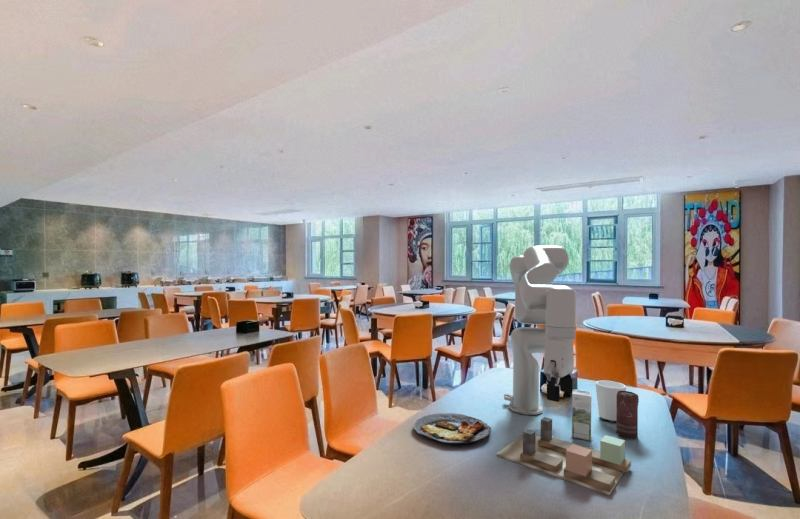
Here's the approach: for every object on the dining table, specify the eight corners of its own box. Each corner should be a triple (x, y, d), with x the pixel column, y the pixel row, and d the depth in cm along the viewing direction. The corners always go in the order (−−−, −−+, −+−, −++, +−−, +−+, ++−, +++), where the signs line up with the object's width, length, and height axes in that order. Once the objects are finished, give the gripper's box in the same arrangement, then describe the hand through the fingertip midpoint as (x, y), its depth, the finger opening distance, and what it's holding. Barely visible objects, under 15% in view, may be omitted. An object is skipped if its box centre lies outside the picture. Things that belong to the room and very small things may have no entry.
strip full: (538, 445, 122) (538, 420, 122) (544, 439, 126) (544, 415, 126) (626, 472, 106) (626, 444, 106) (631, 465, 110) (631, 438, 110)
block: (565, 469, 105) (565, 450, 105) (572, 462, 108) (572, 444, 108) (585, 476, 101) (586, 456, 101) (591, 469, 105) (592, 449, 105)
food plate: (503, 432, 133) (503, 421, 134) (464, 456, 116) (463, 444, 117) (443, 414, 151) (442, 405, 151) (400, 433, 133) (400, 423, 134)
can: (641, 440, 128) (641, 396, 129) (619, 438, 130) (620, 395, 130) (634, 432, 134) (634, 390, 135) (613, 431, 136) (614, 389, 136)
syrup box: (591, 434, 133) (591, 390, 133) (591, 441, 127) (591, 395, 127) (572, 431, 135) (572, 388, 135) (571, 438, 130) (571, 393, 130)
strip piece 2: (563, 475, 105) (563, 469, 105) (570, 468, 109) (570, 462, 109) (609, 492, 98) (609, 484, 98) (615, 483, 101) (615, 476, 101)
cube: (600, 459, 111) (600, 440, 111) (605, 452, 114) (605, 435, 115) (620, 465, 107) (620, 446, 107) (624, 458, 111) (625, 440, 111)
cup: (596, 421, 144) (596, 386, 144) (594, 412, 153) (594, 379, 153) (628, 426, 140) (628, 389, 140) (624, 416, 149) (624, 382, 149)
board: (496, 455, 117) (496, 453, 117) (526, 434, 132) (526, 432, 132) (609, 495, 97) (609, 492, 97) (628, 465, 112) (628, 463, 112)
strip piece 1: (520, 459, 113) (520, 432, 113) (527, 453, 117) (527, 427, 117) (556, 472, 106) (556, 443, 106) (562, 465, 110) (562, 437, 110)
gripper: (558, 327, 118) (557, 386, 117) (533, 334, 105) (533, 400, 104) (585, 330, 113) (584, 391, 112) (562, 338, 100) (562, 407, 100)
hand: (559, 396), depth 108 cm, fingers open, 9 cm apart
